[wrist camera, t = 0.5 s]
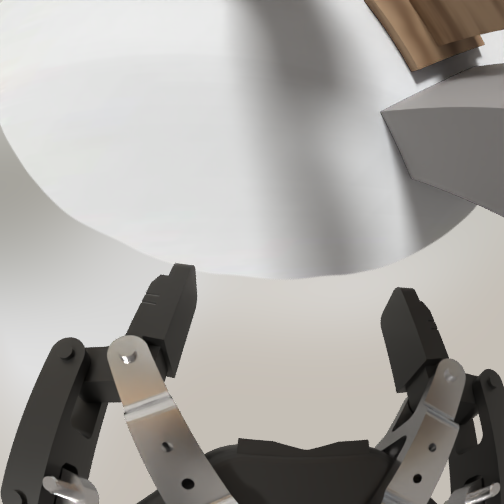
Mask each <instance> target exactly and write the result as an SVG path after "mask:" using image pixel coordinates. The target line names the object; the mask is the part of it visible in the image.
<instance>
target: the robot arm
mask: <svg viewBox="0 0 504 504" xmlns="http://www.w3.org/2000/svg"><path fill="white" fill-rule="evenodd" d="M195 274H196V273H195V266H194V265H186V264H178V263H175V264H174V266H173V268H172V270H171V272H170V274H169V276H166V275H160V276H159V277H157V278H156V279H155V280H154V281H153V282H152V283H151V284H150V286H149V288H148V290H147V292H146V295H145V296H144V298H143V300H142V303H141V304H140V306H139V308H138V310H137V312H136V314H135V316H134V318H133V320H132V323H131V325H130V327H129V329H128V331H127V333H126V335H125V336H122V337H120V338H118V339H116V340H115V341H113V342H112V344H111V345H110V346H107V347H90V348H85V347H84V345H83V344H82V342H81V341H80V340H78V339H76V338H72V337H71V338H64V339H62V340H60V341H58V342H57V343H56V344H55V345H54V346H53V347H52V349H51V351H50V353H49V355H48V357H47V359H46V361H45V363H44V366H43V368H42V370H41V372H40V375H39V377H38V379H37V381H36V383H35V386H34V388H33V390H32V393H31V395H30V398H29V400H28V403H27V405H26V408H25V410H24V413H23V416H22V419H21V421H20V424H19V427H18V430H17V433H16V436H15V439H14V442H13V445H12V449H11V452H10V455H9V459H8V462H7V466H6V470H5V474H4V479H3V483H2V487H1V499H2V502H3V504H99V495H98V492H97V490H96V488H95V486H94V485H93V484H92V483H91V482H90V481H89V480H88V478H89V473H90V469H91V465H92V460H93V456H94V452H95V448H96V444H97V441H98V437H99V433H100V429H101V426H102V422H103V419H104V415H105V412H106V409H107V405H108V402H122V404H123V407H124V410H125V413H124V417H125V420H126V423H127V425H128V428H129V431H130V433H131V435H132V437H133V440H134V442H135V445H136V447H137V449H138V451H139V453H140V456H141V458H142V460H143V462H144V464H145V466H146V468H147V470H148V472H149V474H150V476H151V477H152V480H153V482H154V484H155V485H156V487H157V490H156V491H155V492H153V493H152V494H150V495H149V496H147V497H146V498H144V499H143V500H141V501H140V502H138V503H137V504H437V503H436V502H435V501H434V500H433V499H431V495H432V493H433V491H434V489H435V487H436V485H437V482H438V481H439V478H440V476H441V474H442V472H443V470H444V467H445V465H446V462H447V460H448V459H449V469H450V483H451V496H450V498H449V500H447V501H446V502H445V503H444V504H504V386H503V384H502V381H501V378H500V376H499V375H498V374H497V373H496V372H495V371H493V370H491V369H486V370H484V371H483V372H482V373H481V374H480V375H479V376H474V375H470V374H466V373H465V371H464V369H463V367H462V366H461V365H460V364H459V363H458V362H457V361H455V360H453V359H449V357H448V354H447V352H446V349H445V346H444V344H443V341H442V339H441V336H440V334H439V331H438V330H437V326H436V324H435V322H434V319H433V317H432V314H431V312H430V310H429V309H428V308H427V307H426V305H425V304H424V303H423V302H422V301H420V300H419V298H418V296H417V294H416V292H415V290H414V289H412V288H400V287H397V288H395V290H394V291H393V293H392V296H391V297H390V299H389V301H388V304H387V306H386V307H385V309H384V311H383V314H382V317H381V329H382V333H383V337H384V340H385V344H386V348H387V352H388V356H389V360H390V364H391V369H392V373H393V377H394V382H395V387H396V392H397V393H403V392H407V395H408V397H407V398H406V399H405V400H404V402H403V404H402V406H401V408H400V410H399V412H398V414H397V416H396V418H395V420H394V421H393V423H392V425H391V427H390V428H389V430H388V432H387V434H386V435H385V436H384V438H383V439H382V440H381V441H380V442H379V443H378V444H377V445H376V447H375V448H371V447H369V442H368V440H359V441H345V442H336V443H333V444H330V445H326V446H322V447H319V448H315V449H310V450H303V449H299V448H295V447H291V446H288V445H284V444H280V443H277V442H273V441H263V440H251V439H242V438H239V439H238V444H236V445H229V446H224V447H220V448H217V449H214V450H212V451H210V452H208V453H206V454H204V453H203V452H202V450H201V448H200V447H199V445H198V443H197V441H196V440H195V438H194V436H193V435H192V433H191V431H190V430H189V428H188V426H187V424H186V422H185V420H184V419H183V417H182V415H181V413H180V411H179V409H178V407H177V405H176V403H175V402H174V400H173V398H172V397H171V395H170V394H169V392H168V390H167V388H166V385H165V383H164V381H165V378H166V376H167V377H172V378H175V375H176V372H177V368H178V365H179V361H180V358H181V355H182V351H183V348H184V345H185V341H186V338H187V335H188V331H189V328H190V325H191V322H192V318H193V315H194V312H195V309H196V303H197V288H196V275H195ZM477 414H479V417H480V421H481V425H482V431H483V438H482V441H481V442H480V444H477V438H476V433H475V427H474V422H473V418H474V417H475V416H476V415H477Z"/></svg>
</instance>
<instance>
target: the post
mask: <svg viewBox="0 0 504 504" xmlns="http://www.w3.org/2000/svg"><path fill="white" fill-rule="evenodd" d="M364 1H365V2H366V4H367V5H368V6H369V7H370V9H371V10H372V11H373V13H374V14H375V15H376V17H377V18H378V20H379V21H380V22H381V24H382V25H383V27H384V28H385V30H386V31H387V32H388V34H389V35H390V37H391V39H392V40H393V42H394V43H395V45H396V46H397V48H398V50H399V51H400V53H401V54H402V56H403V58H404V60H405V61H406V63H407V65H408V66H409V68H410V70H411V72H412V71H416V70H419V69H422V68H424V67H427V66H429V65H431V64H434V63H436V62H439V61H441V60H444V59H446V58H449V57H452V56H454V55H457V54H460V53H462V52H465V51H468V50H471V49H474V48H476V47H479V46H482V45H485V44H484V42H483V40H482V38H481V36H480V34H485V33H489V32H493V31H498V30H503V29H504V0H364Z"/></svg>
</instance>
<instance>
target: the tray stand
mask: <svg viewBox="0 0 504 504" xmlns="http://www.w3.org/2000/svg"><path fill="white" fill-rule="evenodd" d="M381 114H382V116H383V118H384V120H385V122H386V124H387V126H388V128H389V130H390V132H391V134H392V136H393V138H394V140H395V142H396V144H397V147H398V149H399V151H400V153H401V156H402V158H403V160H404V162H405V165H406V167H407V170H408V172H409V174H410V177H411V178H412V179H414V180H417V181H420V182H423V183H426V184H428V185H431V186H434V187H436V188H439V189H441V190H444V191H446V192H449V193H451V194H454V195H456V196H459V197H461V198H463V199H466V200H468V201H470V202H473V203H475V204H477V205H479V206H482V207H484V208H486V209H488V210H490V211H492V212H494V213H496V214H498V215H500V216H503V217H504V63H503V64H493V65H484V66H477V67H473V68H470V69H468V70H466V71H463V72H461V73H459V74H457V75H454V76H452V77H450V78H448V79H446V80H443V81H441V82H439V83H437V84H435V85H433V86H431V87H429V88H426V89H424V90H422V91H420V92H418V93H416V94H414V95H412V96H410V97H408V98H406V99H404V100H402V101H400V102H398V103H396V104H394V105H392V106H390V107H388V108H386V109H385V110H383V111H381Z"/></svg>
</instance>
